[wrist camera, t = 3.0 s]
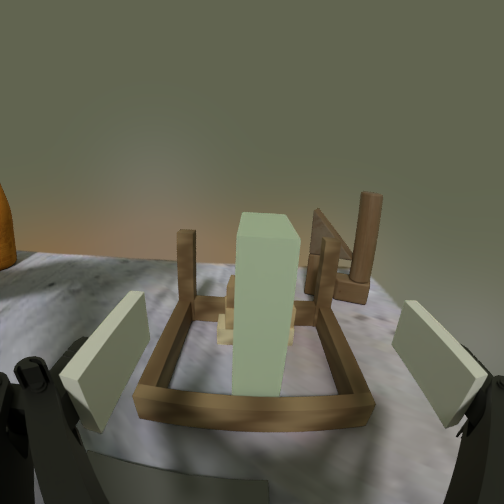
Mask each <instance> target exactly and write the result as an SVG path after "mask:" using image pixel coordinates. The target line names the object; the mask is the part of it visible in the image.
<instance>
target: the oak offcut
mask: <svg viewBox="0 0 504 504" xmlns="http://www.w3.org/2000/svg"><path fill="white" fill-rule="evenodd" d="M226 299H227V296H225V329H229V330H233V327H234V308H226ZM295 314H296V308H295V306H294V304H293V310H292V318H291V325H290V328H294V321H295Z"/></svg>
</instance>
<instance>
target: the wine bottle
mask: <svg viewBox="0 0 504 504" xmlns="http://www.w3.org/2000/svg"><path fill="white" fill-rule="evenodd" d="M16 260H17V254H16V246H15V238H14V231H13V221H12V215H11V210H10V206H9V204H8V201H7V198H6V196H5V194H4V191H3V189H2V186H1V184H0V270H2V269H6V268H8V267H10V266H12V265H13V264H14V263H15V262H16Z"/></svg>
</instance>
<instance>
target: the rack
mask: <svg viewBox="0 0 504 504" xmlns="http://www.w3.org/2000/svg"><path fill="white" fill-rule="evenodd" d="M340 248H341V241H340V240H339V239H338V238H330V237H322V243H321V251H320V259H319V266H318V273H317V280H316V287H315V294H314V300H313V301H294V303H293V304H294V306H295V308H296V314H295V321H294V325H296V326H313V327H316V329H317V332H318V335H319V337H320V340H321V343H322V346H323V349H324V352H325V355H326V358H327V361H328V364H329V367H330V370H331V373H332V376H333V379H334V382H335V385H336V388H337V391H338V394H339V395H333V396H313V397H253V396H233V395H219V394H208V393H198V392H189V391H181V390H174V389H167V388H168V385H169V383H170V380H171V377H172V374H173V371H174V368H175V365H176V363H177V360H178V357H179V354H180V351H181V349H182V346H183V343H184V340H185V338H186V335H187V332H188V329H189V327H190V324H191V321H195V320H200V321H212V322H218V318H219V314H225V297H214V296H199V295H197V291H196V230H187V229H186V230H185V229H180V230H179V231H178V232H177V267H178V290H179V301H178V303H177V305H176V307H175V309H174V311H173V313H172V315H171V317H170V319H169V321H168V323H167V325H166V327H165V329H164V331H163V333H162V335H161V337H160V339H159V341H158V343H157V345H156V347H155V349H154V351H153V353H152V355H151V357H150V359H149V361H148V364H147V366H146V368H145V370H144V372H143V374H142V376H141V378H140V380H139V383H138V385H137V387H136V389H135V391H134V393H133V396H132V397H133V400H134V403H135V407H136V410H137V413H138V416H139V418H141V419H146V420H151V421H156V422H162V423H168V424H174V425H181V426H188V427H196V428H205V429H215V430H227V431H244V432H304V431H321V430H333V429H343V428H352V427H359V426H365V425H366V423H367V422H368V420H369V418H370V416H371V414H372V412H373V409H374V407H375V405H376V404H375V401H374V399H373V397H372V394H371V392H370V390H369V388H368V385H367V383H366V381H365V379H364V377H363V374H362V372H361V370H360V368H359V366H358V364H357V361H356V359H355V357H354V355H353V353H352V351H351V349H350V346H349V344H348V342H347V340H346V338H345V336H344V334H343V332H342V330H341V328H340V326H339V324H338V322H337V320H336V317H335V315H334V313H333V311H332V309H331V303H332V297H333V292H334V286H335V280H336V274H337V268H338V261H339V255H340Z"/></svg>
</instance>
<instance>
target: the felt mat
mask: <svg viewBox="0 0 504 504" xmlns="http://www.w3.org/2000/svg"><path fill="white" fill-rule="evenodd" d="M87 456H88V458H89V461H90V463H91V465H92V468H93V470H94V472H95V475H96V477H97V479H98V481H99V483H100V485H101V487H102V490H103V492H104V494H105V496H106V497H107V499H108V501H109V503H110V504H269V487H268V480H238V479H223V478H212V477H203V476H195V475H187V474H181V473H175V472H169V471H164V470H159V469H154V468H149V467H145V466H141V465H136V464H133V463H129V462H125V461H121V460H118V459H114V458H111V457H108V456H105V455H102V454H98V453H95V452H93V451H90V450H88V451H87Z"/></svg>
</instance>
